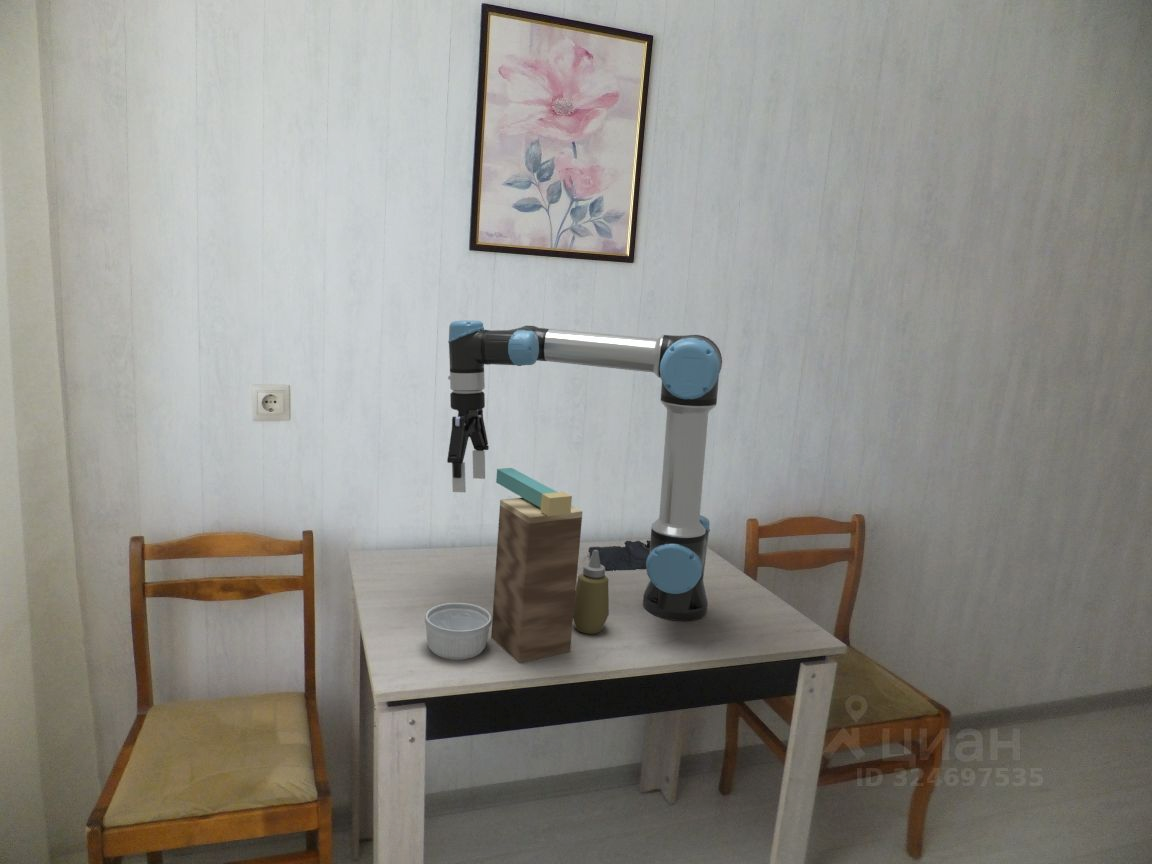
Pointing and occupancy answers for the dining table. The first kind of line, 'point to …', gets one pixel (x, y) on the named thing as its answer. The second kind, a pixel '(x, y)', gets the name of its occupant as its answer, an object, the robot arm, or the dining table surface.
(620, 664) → the dining table surface
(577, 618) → the squeeze bottle
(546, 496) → the peg
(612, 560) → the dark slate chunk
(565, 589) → the post
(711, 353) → the robot arm
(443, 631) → the ramekin
